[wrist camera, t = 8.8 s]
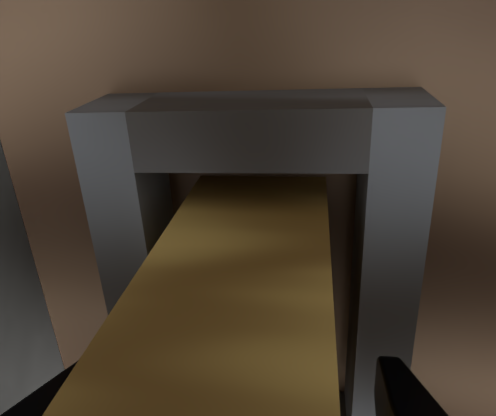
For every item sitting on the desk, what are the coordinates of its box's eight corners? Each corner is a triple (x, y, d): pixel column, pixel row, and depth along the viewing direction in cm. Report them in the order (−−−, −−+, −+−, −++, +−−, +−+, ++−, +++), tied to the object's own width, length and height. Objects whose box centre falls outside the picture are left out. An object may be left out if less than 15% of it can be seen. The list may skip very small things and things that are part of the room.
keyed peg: (326, 177, 10) (343, 443, 4) (319, 372, 13) (323, 725, 7) (200, 175, 11) (42, 416, 5) (217, 364, 13) (129, 690, 7)
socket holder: (467, 460, 15) (501, 562, 12) (100, 427, 17) (59, 509, 14) (636, -266, 8) (817, -415, 5) (-56, -182, 9) (-207, -256, 7)
